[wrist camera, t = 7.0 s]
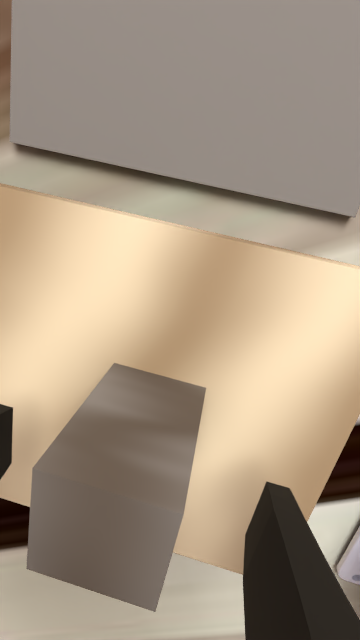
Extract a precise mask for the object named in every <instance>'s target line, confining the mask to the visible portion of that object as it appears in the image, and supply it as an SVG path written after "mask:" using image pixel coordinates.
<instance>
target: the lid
mask: <svg viewBox="0 0 360 640" xmlns="http://www.w3.org/2000/svg"><path fill="white" fill-rule="evenodd" d="M0 404H2V405H6V406H9V407H13V430H12V463H11V465H10V466H9V468H8V469H7V471H6V472H5V474H4V475H3V477H2V478H1V480H0V498H3V499H6V500H9V501H13V502H16V503H19V504H22V505H25V506H28V507H30V519H29V537H28V554H27V569H29V570H32V571H35V572H38V573H41V574H44V575H47V576H50V577H53V578H56V579H59V580H62V581H65V582H68V583H71V584H73V585H76V586H79V587H82V588H85V589H88V590H91V591H94V592H97V593H100V594H103V595H106V596H109V597H112V598H115V599H118V600H121V601H124V602H127V603H130V604H133V605H136V606H139V607H142V608H145V609H148V610H151V611H154V612H155V611H156V607H157V604H158V600H159V597H160V593H161V590H162V587H163V583H164V580H165V576H166V573H167V570H168V566H169V563H170V559H171V556H172V553H176V554H179V555H183V556H186V557H189V558H192V559H195V560H198V561H202V562H205V563H208V564H211V565H214V566H217V567H220V568H224V569H227V570H230V571H233V572H236V573H239V574H242V575H243V566H244V547H245V534H246V532H247V529H248V526H249V524H250V521H251V519H252V516H253V514H254V511H255V509H256V506H257V504H258V501H259V499H260V496H261V494H262V491H263V489H264V486H265V484H266V481H267V482H271V483H274V484H277V485H281V486H284V487H288V488H290V490H291V491H292V493H293V495H294V497H295V499H296V501H297V503H298V505H299V507H300V509H301V511H302V513H303V515H304V517H305V519H306V522H307V521H308V519H309V517H310V515H311V513H312V511H313V509H314V507H315V505H316V503H317V501H318V499H319V496H320V494H321V492H322V490H323V488H324V486H325V484H326V482H327V480H328V478H329V476H330V474H331V472H332V470H333V468H334V466H335V464H336V462H337V460H338V458H339V455H340V453H341V451H342V449H343V447H344V445H345V443H346V441H347V439H348V437H349V435H350V433H351V431H352V429H353V427H354V425H355V423H356V421H357V419H358V417H359V414H360V266H356V265H352V264H347V263H343V262H339V261H334V260H330V259H326V258H321V257H317V256H313V255H308V254H304V253H300V252H295V251H291V250H287V249H282V248H278V247H274V246H269V245H265V244H261V243H256V242H252V241H248V240H244V239H239V238H235V237H231V236H226V235H222V234H218V233H213V232H209V231H205V230H200V229H196V228H192V227H187V226H183V225H179V224H174V223H170V222H166V221H161V220H157V219H153V218H148V217H144V216H140V215H135V214H131V213H127V212H122V211H118V210H114V209H109V208H105V207H101V206H96V205H92V204H88V203H83V202H79V201H75V200H70V199H66V198H62V197H57V196H53V195H49V194H44V193H40V192H36V191H31V190H27V189H23V188H18V187H14V186H10V185H6V184H0Z"/></svg>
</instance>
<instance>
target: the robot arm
mask: <svg viewBox="0 0 360 640" xmlns="http://www.w3.org/2000/svg"><path fill="white" fill-rule="evenodd" d="M12 430H13V407H9V406H6V405H2V404H0V480H1V478H2V477H3V475H4V474H5V472H6V471H7V469H8V468H9V466H10V465H11V463H12ZM337 572H338V575H339V577H340V578H341V579H343V580H345V581H349V582H352V583H355V584H358V585H360V526H359V528H358V530H357V532H356V533H355V535H354V537H353V539H352V540H351V542H350V544H349V546H348V547H347V549H346V551H345V553H344V554H343V556H342V558H341V560H340V561H339V563H338V565H337ZM243 593H244V615H245V636H246V640H360V620H359V618H358V616H357V615H356V613H355V611H354V609H353V608H352V606H351V604H350V602H349V601H348V599H347V597H346V595H345V594H344V592H343V590H342V588H341V586H340V585H339V583H338V581H337V579H336V577H335V575H334V573H333V572H332V570H331V568H330V566H329V564H328V562H327V561H326V559H325V557H324V555H323V553H322V551H321V549H320V547H319V545H318V543H317V541H316V539H315V537H314V535H313V533H312V531H311V530H310V528H309V526H308V524H307V522H306V519H305V517H304V515H303V513H302V511H301V509H300V507H299V505H298V503H297V501H296V499H295V497H294V495H293V493H292V491H291V490H290V488H288V487H284V486H281V485H277V484H274V483H271V482H267V481H266V484H265V486H264V489H263V491H262V494H261V496H260V499H259V501H258V504H257V506H256V509H255V511H254V514H253V516H252V519H251V521H250V524H249V526H248V529H247V532H246V534H245V547H244V566H243Z"/></svg>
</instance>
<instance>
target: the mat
mask: <svg viewBox="0 0 360 640" xmlns="http://www.w3.org/2000/svg"><path fill="white" fill-rule="evenodd" d="M10 142H12V143H16V144H20V145H25V146H29V147H34V148H38V149H43V150H48V151H52V152H57V153H61V154H66V155H70V156H75V157H80V158H84V159H89V160H93V161H98V162H103V163H107V164H112V165H116V166H121V167H126V168H130V169H135V170H139V171H144V172H148V173H153V174H158V175H162V176H167V177H171V178H176V179H181V180H185V181H190V182H194V183H199V184H204V185H208V186H213V187H217V188H222V189H226V190H231V191H236V192H240V193H245V194H249V195H254V196H259V197H263V198H268V199H272V200H277V201H282V202H286V203H291V204H295V205H300V206H304V207H309V208H314V209H318V210H323V211H327V212H332V213H337V214H341V215H346V216H350V217H356V214H357V211H358V209H359V206H360V0H12V33H11V95H10Z"/></svg>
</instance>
